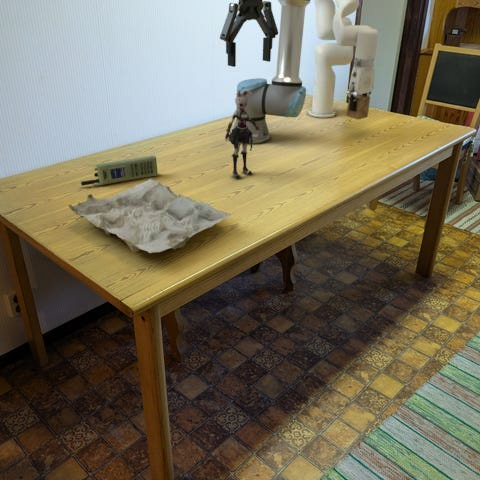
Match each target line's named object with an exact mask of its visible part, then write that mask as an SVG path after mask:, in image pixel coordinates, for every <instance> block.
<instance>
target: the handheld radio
mask: <svg viewBox="0 0 480 480" xmlns="http://www.w3.org/2000/svg"><path fill="white" fill-rule="evenodd" d="M157 164H158V163H157V156H156V155H147V156H141V157H140V156H139V157H134V158H127V159H121V160H115V161H108V162H101V163H96V164H93V167H94V168H93V171H97V172H95V173H94V174H93V175H94V177H96V179H90V180H83V181H82V180H81V181H80V185H81V186H88V185H93V184H94V185H96V186H97V187H98V186H99V187H100V186H105V185H109V184H115V183H121V182H128V181H134V180H139V179H144V178H151V177H156V176H158V175H159V174H158V165H157Z"/></svg>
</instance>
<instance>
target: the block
mask: <svg viewBox="0 0 480 480" xmlns="http://www.w3.org/2000/svg"><path fill="white" fill-rule="evenodd" d="M353 96H354V97H355V94H354V95H353ZM356 101H357V107H356V111H351V110H349V105H350V100H349V99H348V102H347V109H346V117H348V118H352V119H355V120H361V119H366V118H368V115H369V109H370V102H371V96H369V97H368V96H364V95H362V94H360V95H358V97H357V100H356Z"/></svg>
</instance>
